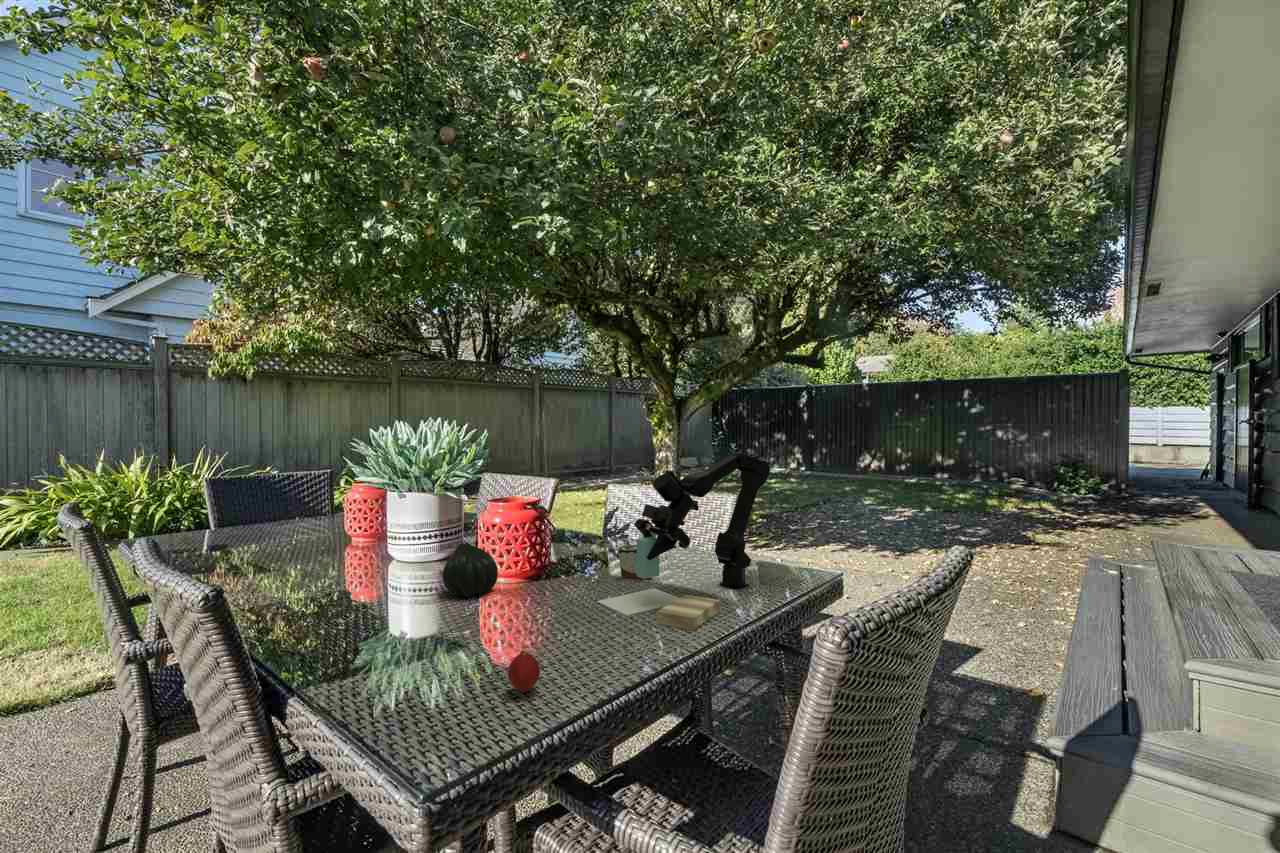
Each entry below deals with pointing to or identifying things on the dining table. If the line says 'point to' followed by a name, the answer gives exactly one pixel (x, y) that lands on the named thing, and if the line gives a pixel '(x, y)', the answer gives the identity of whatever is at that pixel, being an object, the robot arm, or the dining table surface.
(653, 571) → the tall teal block
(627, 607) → the mat
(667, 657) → the dining table surface
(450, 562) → the squash
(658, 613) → the plate
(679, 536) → the robot arm
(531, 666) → the onion
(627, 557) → the food container
